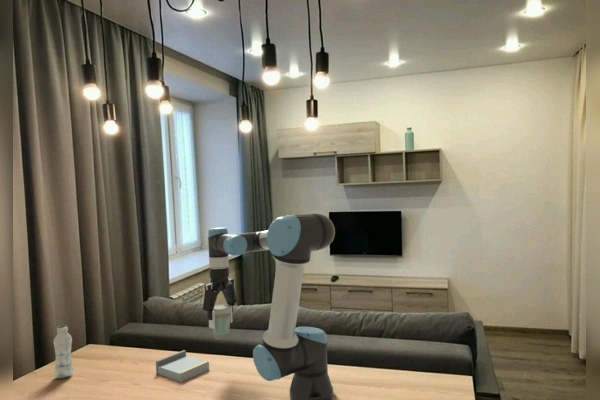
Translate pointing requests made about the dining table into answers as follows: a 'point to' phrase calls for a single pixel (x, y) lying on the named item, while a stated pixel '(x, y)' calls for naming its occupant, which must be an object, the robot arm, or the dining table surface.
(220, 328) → the coffee cup
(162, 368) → the plate
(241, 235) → the robot arm
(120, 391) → the dining table surface
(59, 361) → the plastic bottle
